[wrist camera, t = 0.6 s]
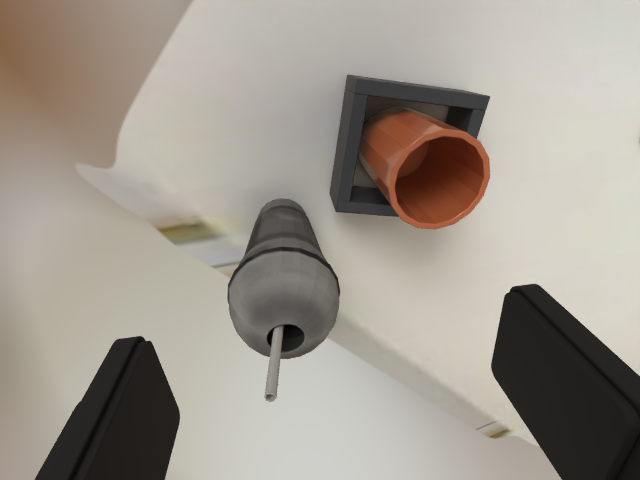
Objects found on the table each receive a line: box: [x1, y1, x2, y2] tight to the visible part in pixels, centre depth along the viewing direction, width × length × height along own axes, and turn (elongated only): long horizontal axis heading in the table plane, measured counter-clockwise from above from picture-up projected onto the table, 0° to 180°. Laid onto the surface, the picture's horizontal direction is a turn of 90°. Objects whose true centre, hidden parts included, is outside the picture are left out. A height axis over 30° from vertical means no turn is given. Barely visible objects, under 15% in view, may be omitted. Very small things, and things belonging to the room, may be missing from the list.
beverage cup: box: [228, 199, 340, 402], centre depth 25 cm, size 7×7×20 cm
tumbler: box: [358, 106, 490, 229], centre depth 27 cm, size 6×6×10 cm
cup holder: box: [330, 75, 490, 217], centre depth 30 cm, size 10×10×4 cm
